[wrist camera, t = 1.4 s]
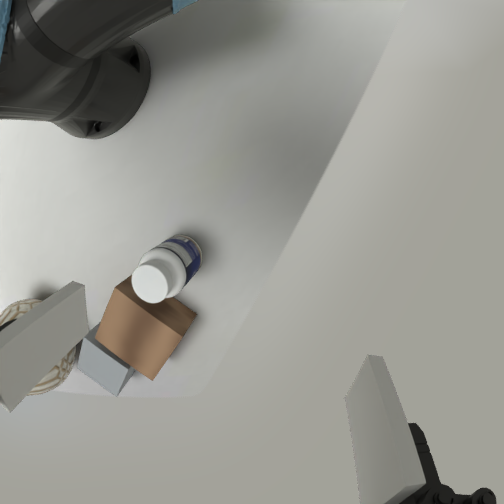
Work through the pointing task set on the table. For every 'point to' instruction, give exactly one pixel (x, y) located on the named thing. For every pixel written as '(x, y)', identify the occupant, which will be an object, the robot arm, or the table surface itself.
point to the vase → (61, 368)
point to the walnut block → (142, 328)
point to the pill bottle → (166, 269)
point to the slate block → (103, 364)
